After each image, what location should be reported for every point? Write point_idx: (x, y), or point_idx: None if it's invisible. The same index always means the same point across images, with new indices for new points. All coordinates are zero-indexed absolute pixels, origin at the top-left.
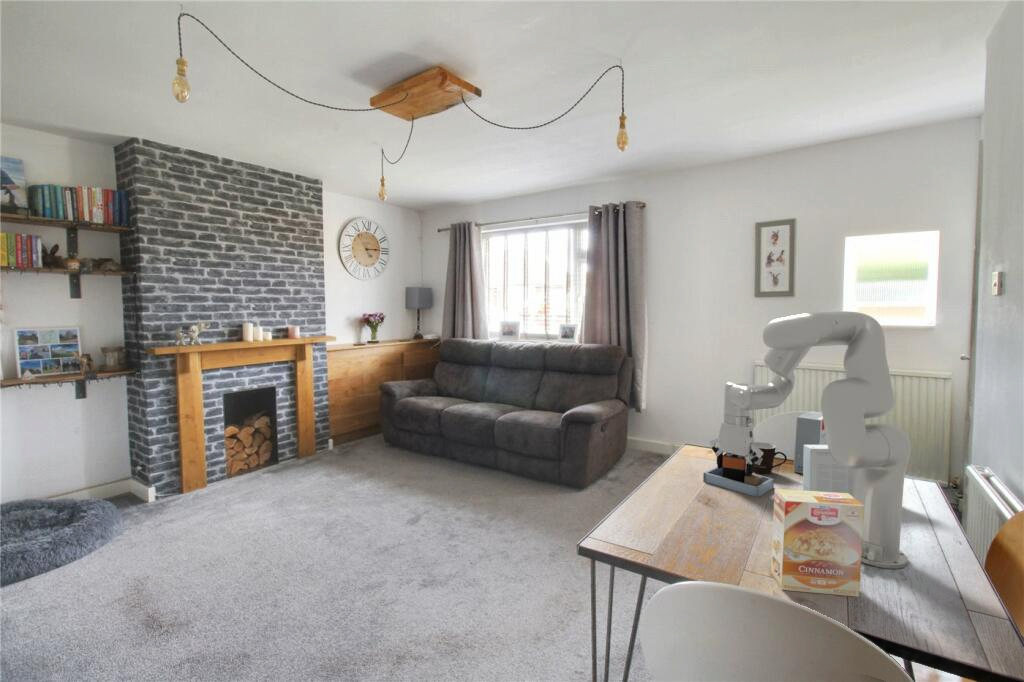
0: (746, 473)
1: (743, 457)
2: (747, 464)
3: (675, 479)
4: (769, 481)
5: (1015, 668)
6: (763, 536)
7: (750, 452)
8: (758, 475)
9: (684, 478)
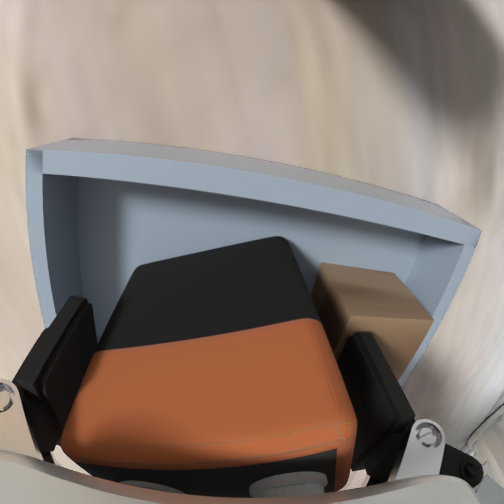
0: None
1: (326, 480)
2: (357, 465)
3: (5, 355)
4: (452, 296)
5: (485, 463)
6: (358, 485)
7: (436, 498)
8: (400, 223)
9: (8, 328)
